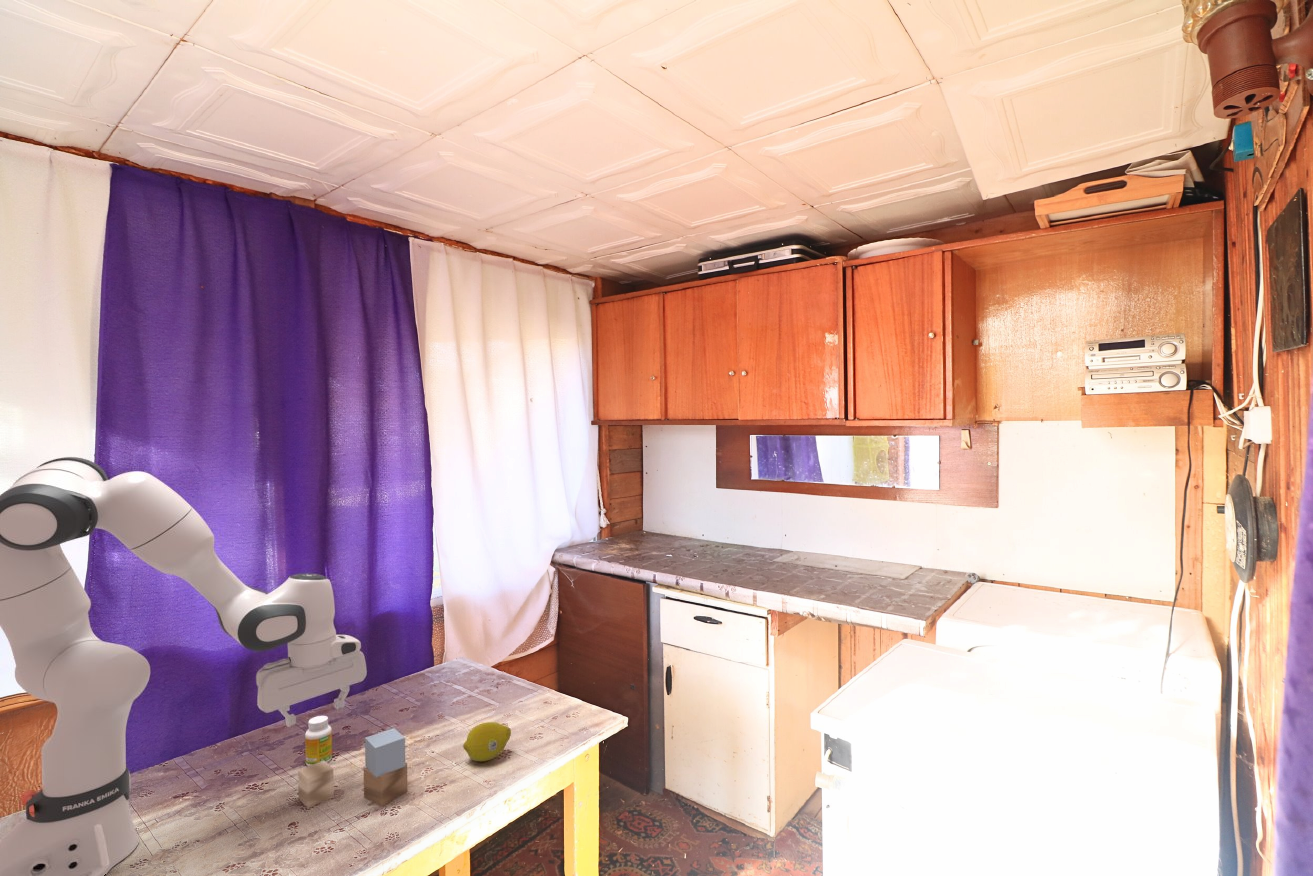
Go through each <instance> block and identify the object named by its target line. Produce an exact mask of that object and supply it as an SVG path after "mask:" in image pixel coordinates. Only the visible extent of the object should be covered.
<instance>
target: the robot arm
mask: <svg viewBox="0 0 1313 876" xmlns="http://www.w3.org/2000/svg"><path fill="white" fill-rule="evenodd" d="M95 529H100V530H104V531H107V532H108V533H110V534H111V535H112V536H114V537H115V538H116V539H117V540H118V541H120V542H121V543H122V544H123V545H124V546H125V547H126V548H127V549H128V550H129V551H130V552H132V553H133V554H134V555H135V556H136V557H138V558H139V559H140V560H141V561H143V562H144V563H146V564H147V565H148V566H150V567H152V568H154V569H155V570H156V571H159V572H161V573H162V574H165V575H172V576H176V577H179V578H180V579H182V580H184V581H186V582H187V583H188V584H190V585H191V586H192V588H194V589H195V590H196V591H197V592H198V593H199V594H200V595H201V596H202V597H203V598H204V599H205V600H206V601H207V602H209V603H210V605H211V606H212V607H213V608H214V609H215V613H216V615H217V619H218V623H219V626H220V628H221V629H222V631H223V632H224V633H225V634H227V635H228V636H229V637H231V638H233V639H234V640H235V641H237V642H238V644H239V645H241V646H242V647H243V648H246V649H247V650H250V651H251V652H259V653H260V652H267V651H270V650H273V649H275V648H276V649H277V648H278V647H280V646H283V645H286V644H287V657H285V658H282V659H280V660H276V661H273V662H268V663H266V664H264V665H263V667H261V668H259V669H258V671H257V672H256V675H255V682H256V686H257V696H256V697H257V701H256V702H257V703H256V704H257V707H258V708H259V710H261V711H262V712H264V713H265V714H268V713H272V712H275V711H277V710H278V711H279V712H280V713H281V715H282V716H283V717H285V719H284V720H285V721H284V722H285V726H286V727H288V728H290V727H293V726H296V725H297V716H296V715H295V714H294V713H292V714H289V713H288V712H289V711H290V706H292V705H296V704H298V703H301V702H304V701H307V700H310V699H313V698H316V697H319V696H322V695H326V694H328V693H330V692H333V691H336V690H340V692H339V694H338V697H337V698H335V699H333V703H334V704H333V706H334V708H335V709H336V710H340V709H343V708H344V707H346V705H345V701H346V698H347V696H348V694H349V692H350V686H353V685H355V684H357V683H361V682H363V681H364V680H365V679H366V677H367V672H368V671H367V662H366V659H365V658H366V657H365V655H364V653H363V652H362V651H361V648H362V643H361V641H360V640H359V639H357V638H356V637H354V636H351V635H349V634H348V635H347V634H337V630H336V628H335V624H334V620H335V616H336V614H335V613H336V609H335V597H334V590H333V586H332V583H331V580H330V579H329V578H328V577H326V576H324V575H322V574H319V573H309V572H308V573H306V572H303V573H297V574H292V575H290V576H289V577H288V578H287V579H286V580H285V581H284V582H283V583H282V584H280V585H279V586H278V587H276V589H273V590H272V591H271V592H269V593H268V592H266V591H264V590H262V589H259V588H256V587H252V586H249V585H247V584H245V583H244V582H242V580H240V578H238V576H236V574H234V573H233V572H232V571H231V569H230V568H228V567H227V566H226V565H225V563H223V562H222V560H221V559H220V558H219V557H218V555H217V553H216V551H215V548H214V547H215V546H214V545H215V536H214V535H215V534H214V533H213V532H212V530H211V528H210V527H209V525H208V524H207V523H206V520H204V518H203V517H202V516H201V515H200V514H199V513H198V512H197V510H196V509H195V508H194V507H193V506H192V505H190V504H189V502H187V501H186V500H185V498H183V496H181V495H180V494H178V493H177V492H176V491H175V490H173V489H172V488H171V487H170V486H168V485H167V484H166V483H164V482H163V481H162V480H160V479H158V478H157V477H155V476H154V475H153V474H150V473H148V472H146V471H139V470H138V471H137V470H135V471H129V472H128V471H127V472H123V473H120V474H118V475H116V476H115V475H114V476H113V477H112V478H110V479H109V478H108V475H107V474H106V472H105V471H104V469H103V468H102V467H101V466H99V465H98V464H97V463H95V461H92V460H89V459H86V458H82V457H76V456H65V457H58V458H55V459H51V460H48V461H45V462H43V463H41V464H40V465H38V466H37V467H36V468H34V469H32V470H29V472H27V473H25V474H24V475H22V476H20V477H18V479H17V480H15V482H13V484H12V485H11V486H10V487H9V488H8V489H7V490H6V491H4V492H2V493H1V494H0V628H1V629H2V631H3V633H4V635H5V637H6V638H7V640H8V643H9V646H10V648H11V652H12V656H13V659H14V663H15V667H14V668H15V669H14V678H15V681H16V683H17V684H18V686H19V687H20V688H21V689H22V690H23V691H25V692H26V693H27V694H29V695H30V696H31V697H33V698H35V699H37V700H42V701H46V702H49V703H54V704H55V706H56V709H57V716H56V721H55V724H54V728H53V731H52V734H51V736H50V737H48V738H47V739H46V740H45V742H44V743H43V745H42V747H41V785H42V786H41V788H40V790H39V791H38V792H37V791H36V790H34V789H29V790H26V791H25V792H23V793H22V794H21V796H20V801H21V802H20V803H21V805H23V806H24V807H25V818H23V819H22V820H21V821H20V822H18V823H17V825H15V826H14V827H13V828H12V829H10V830H9V831H8V832H7V833H6V834H4V835H3V836H2V837H1V838H0V876H104V875H105V874H106V875H107V874H108V873H109V872H110V871H111V870H112V869H113V867H114V866H116V865H117V864H119V863H120V862H122V861H123V860H124V859H126V858H127V857H128V856H129V855H131V854H132V852H133V851H134V850H135V849H136V848H137V847H138V844H139V842H140V836H139V834H138V832H137V829H136V827H135V824H134V822H133V818H132V813H131V810H130V802H129V799H130V793H131V773H130V768H129V767H128V765H127V764H126V763H127V762H126V761H127V760H126V757H127V755H126V749H127V748H126V740H127V739H126V738H127V737H126V736H127V735H126V734H127V733H126V732H127V724H128V719H129V716H130V712H131V708H132V705H133V703H134V701H135V700H136V699H137V698H138V697H139V696H140V695H141V694H142V693H143V692H144V690H145V688H146V687H147V685H148V683H149V680H150V677H151V666H150V663H149V661H148V659H147V658H146V657H145V656H144V655H142V654H141V653H139V652H138V651H137V650H135V649H133V648H131V647H129V646H126V645H123V644H119V643H112V642H107V641H103V640H101V639H100V638H99V637H97V636H96V634H94V632H93V629H92V627H91V624H90V623H91V622H90V617H89V611H90V609H91V607H92V606H91V605H92V603H91V598H90V597H89V595H88V593H87V592H86V590H85V588H84V587H83V585H82V583H81V582H80V579H79V577H78V575H77V574H76V572H75V571H74V569H73V567H72V565H71V563H70V561H69V559H68V558H67V557H66V555H65V553H64V552H63V550H62V547H61V544H65V543H66V542H70V541H73V540H77V539H81V538H85V537H88V536H90V535H91V534H92V533H93V532H94V530H95ZM106 875H105V876H106Z"/></svg>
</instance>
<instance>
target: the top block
mask: <svg viewBox="0 0 1313 876" xmlns="http://www.w3.org/2000/svg"><path fill="white" fill-rule="evenodd" d="M364 756H365V757H364V760H365V764H364V765H365V768H366V767H367V768H368V770H369V771H370V772H371V773H372V774H373V775H374V776H375V777H379V776H381V775H384V774H386V773H389V772H392V771H394V770H397V769H399V768H402V767H405V766H406V763H407V762H406V737H405V736H404V735H402V733H400V731H398V730H397V729H396V728H395V727H392V728H390V729H387V730H384V731H381V732H377V733H375V734H373V735H370V736H369V735H368V736H366V737H364Z"/></svg>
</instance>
